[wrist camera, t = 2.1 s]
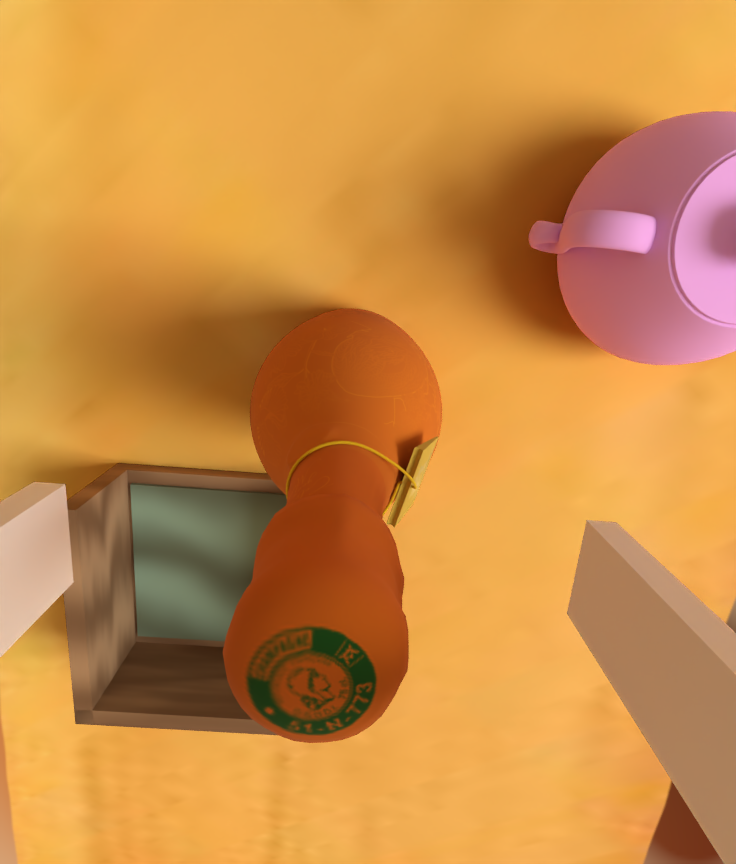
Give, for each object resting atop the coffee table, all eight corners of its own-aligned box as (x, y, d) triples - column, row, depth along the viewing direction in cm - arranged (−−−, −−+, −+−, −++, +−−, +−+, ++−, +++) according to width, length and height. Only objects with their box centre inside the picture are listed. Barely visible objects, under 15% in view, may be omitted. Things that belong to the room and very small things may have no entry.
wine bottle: (335, 465, 39) (257, 976, 10) (255, 357, 37) (-137, 625, 8) (445, 392, 38) (717, 752, 9) (369, 276, 35) (399, 242, 6)
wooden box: (118, 463, 39) (55, 508, 31) (330, 478, 39) (322, 527, 31) (128, 643, 43) (75, 723, 35) (319, 655, 44) (309, 736, 36)
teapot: (832, 147, 33) (1095, 71, 21) (770, 365, 37) (964, 405, 25) (525, 123, 33) (619, 32, 21) (496, 347, 37) (560, 379, 25)
